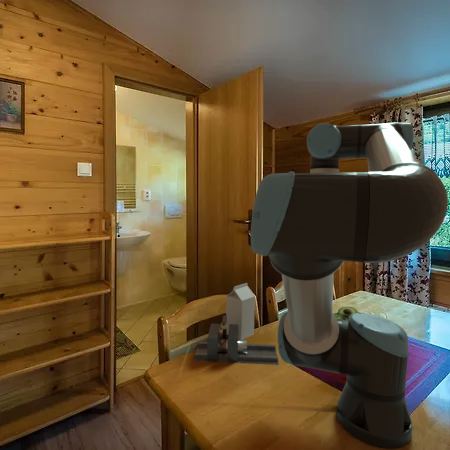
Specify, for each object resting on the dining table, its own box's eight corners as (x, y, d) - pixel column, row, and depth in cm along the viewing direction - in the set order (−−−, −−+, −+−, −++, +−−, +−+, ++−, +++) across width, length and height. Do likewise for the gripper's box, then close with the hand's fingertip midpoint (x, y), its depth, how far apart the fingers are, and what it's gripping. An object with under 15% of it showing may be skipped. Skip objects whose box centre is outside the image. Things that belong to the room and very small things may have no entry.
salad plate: (389, 332, 119) (390, 320, 118) (348, 338, 114) (349, 325, 113) (355, 314, 137) (355, 303, 137) (318, 317, 132) (319, 307, 132)
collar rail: (278, 368, 92) (279, 332, 91) (193, 364, 94) (193, 329, 93) (274, 348, 104) (275, 316, 103) (199, 345, 105) (199, 314, 104)
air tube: (246, 349, 100) (247, 338, 100) (247, 355, 97) (247, 343, 96) (209, 348, 101) (209, 336, 101) (207, 354, 97) (207, 342, 97)
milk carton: (254, 337, 112) (255, 284, 111) (241, 343, 107) (242, 289, 105) (238, 331, 117) (239, 280, 115) (225, 337, 112) (226, 284, 110)
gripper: (343, 186, 89) (339, 268, 92) (297, 185, 90) (294, 267, 92) (353, 185, 82) (348, 274, 84) (302, 184, 83) (298, 273, 85)
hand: (320, 270), depth 88 cm, fingers closed
